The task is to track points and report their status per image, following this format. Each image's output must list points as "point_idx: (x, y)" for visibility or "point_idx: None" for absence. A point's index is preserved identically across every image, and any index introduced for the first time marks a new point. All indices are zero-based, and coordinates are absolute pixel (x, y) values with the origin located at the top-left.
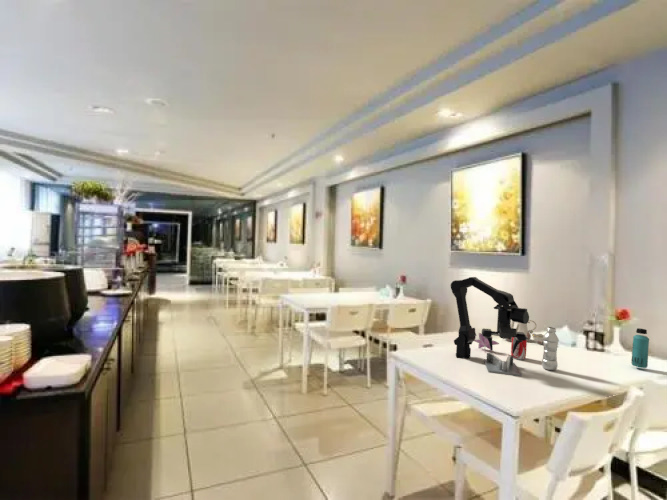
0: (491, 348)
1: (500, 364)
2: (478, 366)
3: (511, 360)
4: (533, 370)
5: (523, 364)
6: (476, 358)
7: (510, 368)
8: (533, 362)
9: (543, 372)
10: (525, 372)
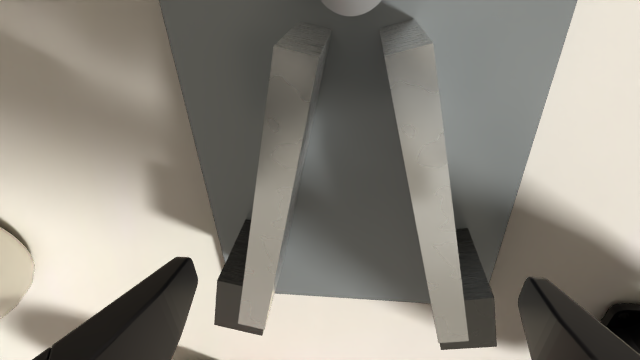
0: (584, 319)
1: (401, 37)
2: (629, 107)
3: (243, 253)
4: (84, 184)
5: None
6: None
7: None
8: None
9: (6, 161)
10: (132, 97)
